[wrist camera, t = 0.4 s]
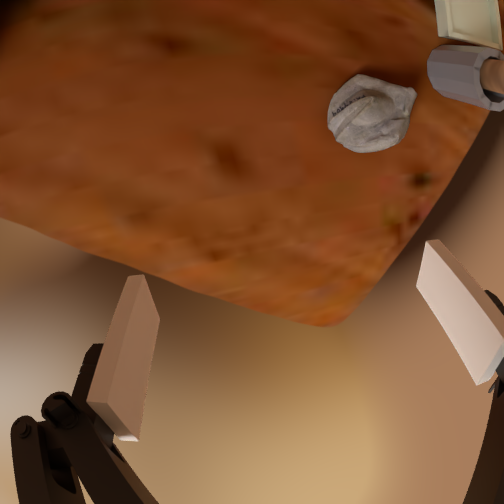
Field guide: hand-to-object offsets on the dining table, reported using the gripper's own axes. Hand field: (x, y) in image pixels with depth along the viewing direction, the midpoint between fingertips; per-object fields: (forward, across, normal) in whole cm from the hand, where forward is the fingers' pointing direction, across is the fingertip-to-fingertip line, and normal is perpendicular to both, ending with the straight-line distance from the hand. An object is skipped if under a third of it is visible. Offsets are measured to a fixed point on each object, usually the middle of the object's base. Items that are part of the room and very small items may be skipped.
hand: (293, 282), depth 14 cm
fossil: (+28, +14, +3) cm, 32 cm away
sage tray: (+28, +32, +22) cm, 48 cm away
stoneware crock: (+28, +28, +9) cm, 41 cm away
